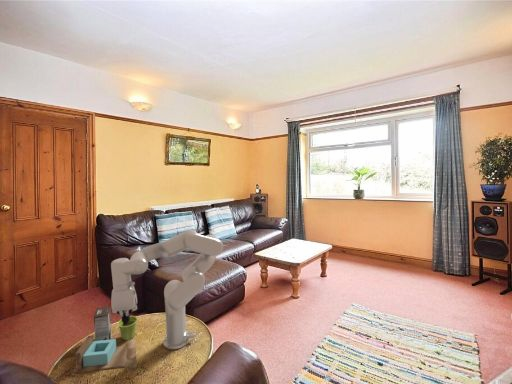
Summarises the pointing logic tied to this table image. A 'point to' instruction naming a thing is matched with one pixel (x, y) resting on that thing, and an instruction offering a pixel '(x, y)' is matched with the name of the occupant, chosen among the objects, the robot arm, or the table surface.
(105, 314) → the coffee box
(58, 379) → the table surface
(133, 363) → the dowel
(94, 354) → the hole block
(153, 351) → the table surface
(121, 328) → the plant pot
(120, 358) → the backstop board
